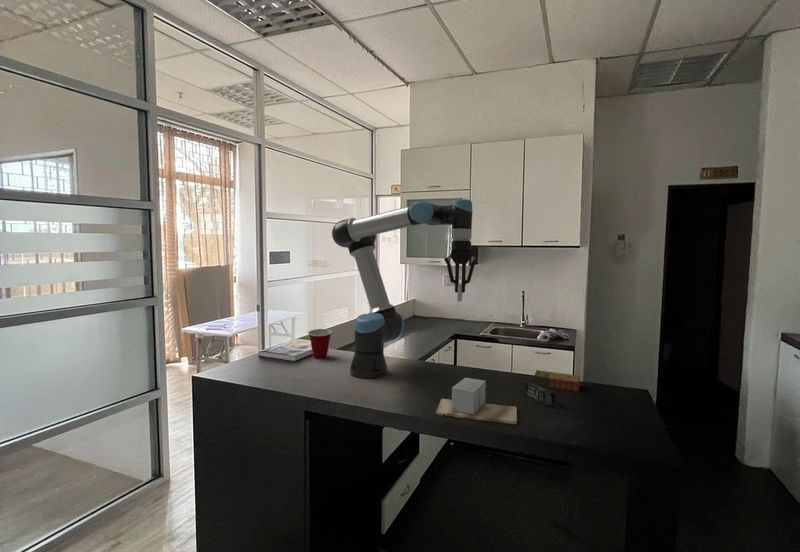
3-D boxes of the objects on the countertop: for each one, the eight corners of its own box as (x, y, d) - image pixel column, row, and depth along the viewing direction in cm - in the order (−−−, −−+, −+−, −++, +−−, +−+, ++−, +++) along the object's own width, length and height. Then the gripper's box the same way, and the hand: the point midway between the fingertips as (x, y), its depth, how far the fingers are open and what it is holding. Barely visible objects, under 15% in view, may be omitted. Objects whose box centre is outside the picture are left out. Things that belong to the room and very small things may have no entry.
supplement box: (486, 402, 138) (473, 415, 126) (464, 398, 141) (450, 410, 130) (486, 380, 137) (474, 391, 126) (465, 376, 140) (451, 387, 129)
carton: (578, 392, 152) (579, 381, 152) (532, 385, 159) (533, 374, 159) (579, 386, 160) (580, 375, 160) (535, 379, 167) (536, 369, 166)
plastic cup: (303, 359, 188) (304, 332, 187) (312, 353, 199) (313, 328, 198) (327, 360, 186) (327, 334, 185) (334, 354, 197) (335, 329, 196)
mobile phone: (523, 381, 148) (554, 394, 135) (530, 380, 150) (561, 393, 136) (522, 395, 149) (553, 409, 135) (529, 394, 150) (561, 408, 136)
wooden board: (435, 414, 129) (435, 412, 129) (441, 400, 140) (441, 398, 140) (516, 424, 123) (517, 421, 123) (516, 409, 134) (516, 406, 134)
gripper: (479, 240, 164) (477, 300, 166) (446, 240, 167) (444, 299, 169) (477, 240, 157) (475, 303, 159) (443, 239, 160) (441, 301, 162)
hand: (459, 301), depth 164 cm, fingers closed
